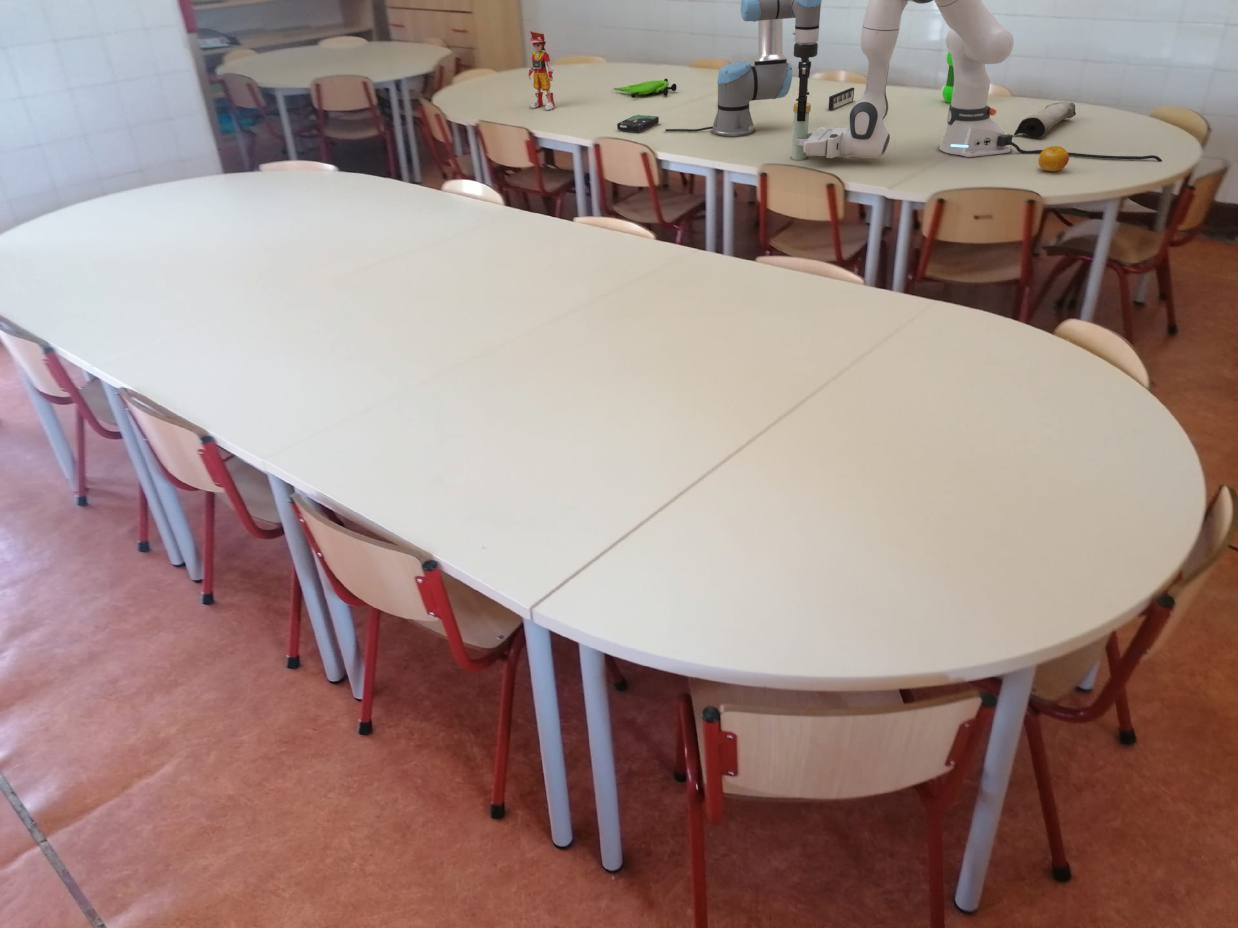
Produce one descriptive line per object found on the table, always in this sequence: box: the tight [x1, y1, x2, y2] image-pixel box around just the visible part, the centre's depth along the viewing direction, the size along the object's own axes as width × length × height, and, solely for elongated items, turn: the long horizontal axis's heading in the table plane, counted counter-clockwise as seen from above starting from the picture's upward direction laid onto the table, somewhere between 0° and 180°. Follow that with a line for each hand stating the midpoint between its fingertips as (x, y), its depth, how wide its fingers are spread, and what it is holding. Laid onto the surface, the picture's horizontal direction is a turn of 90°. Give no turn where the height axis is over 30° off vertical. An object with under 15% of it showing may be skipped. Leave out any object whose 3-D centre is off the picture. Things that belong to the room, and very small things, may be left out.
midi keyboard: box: [827, 87, 855, 111], centre depth 358 cm, size 18×1×5 cm, turn 138°
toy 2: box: [612, 78, 677, 99], centre depth 396 cm, size 28×5×30 cm
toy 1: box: [527, 31, 556, 111], centre depth 374 cm, size 12×9×30 cm
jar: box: [791, 111, 810, 161], centre depth 300 cm, size 5×5×17 cm
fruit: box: [1037, 145, 1070, 172], centre depth 278 cm, size 8×8×8 cm
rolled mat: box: [1013, 101, 1077, 140], centre depth 317 cm, size 30×9×10 cm
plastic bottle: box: [942, 50, 954, 104], centre depth 348 cm, size 10×10×25 cm
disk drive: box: [616, 114, 660, 133], centre depth 347 cm, size 10×3×15 cm
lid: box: [792, 102, 812, 113], centre depth 296 cm, size 6×6×2 cm
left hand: (801, 118), depth 298 cm, fingers closed on lid, 5 cm apart
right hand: (797, 138), depth 302 cm, fingers closed on jar, 5 cm apart
